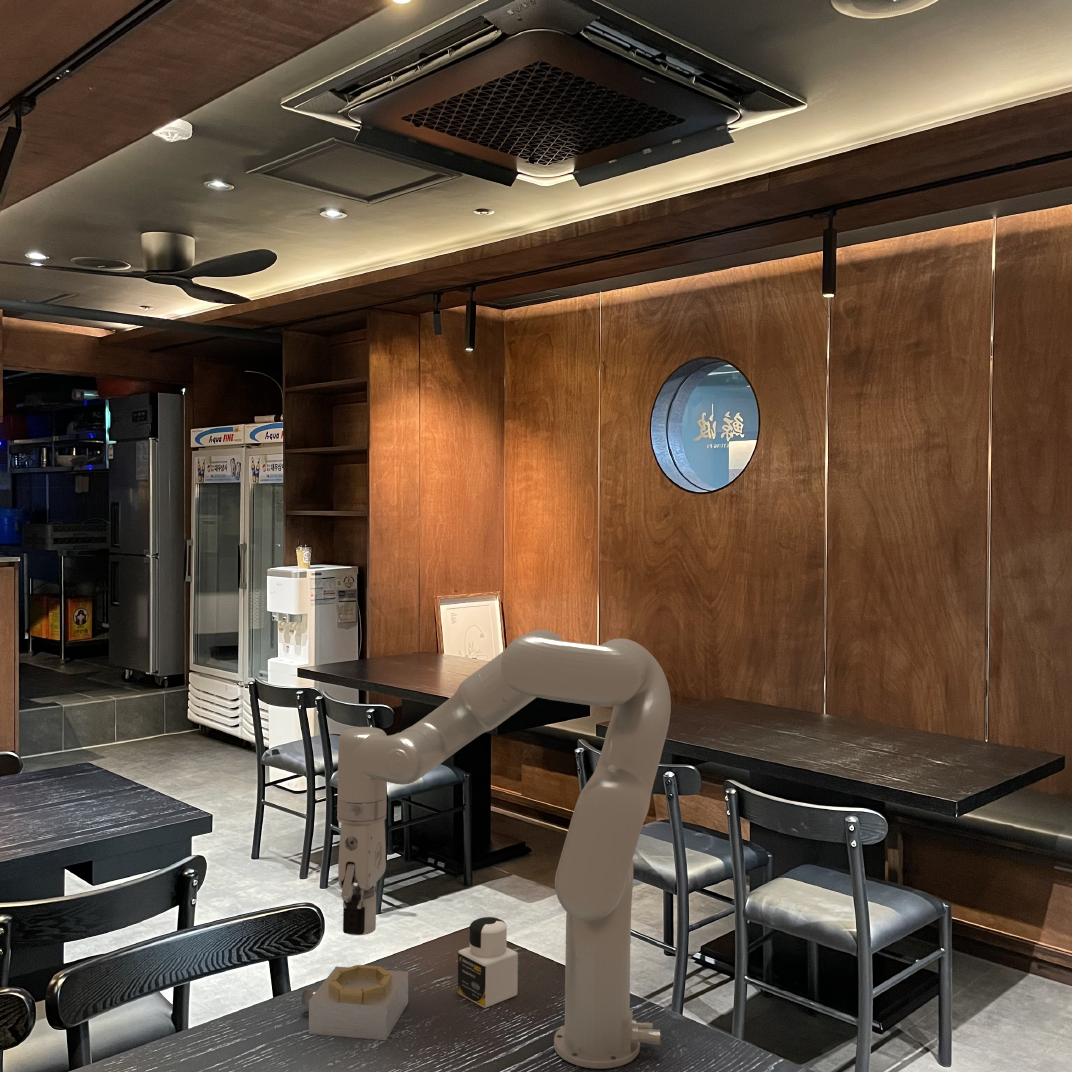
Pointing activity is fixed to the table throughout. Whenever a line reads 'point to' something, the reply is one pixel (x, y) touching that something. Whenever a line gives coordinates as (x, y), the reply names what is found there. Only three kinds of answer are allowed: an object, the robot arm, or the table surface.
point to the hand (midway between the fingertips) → (359, 924)
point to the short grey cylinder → (368, 910)
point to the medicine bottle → (487, 964)
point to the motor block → (357, 1002)
